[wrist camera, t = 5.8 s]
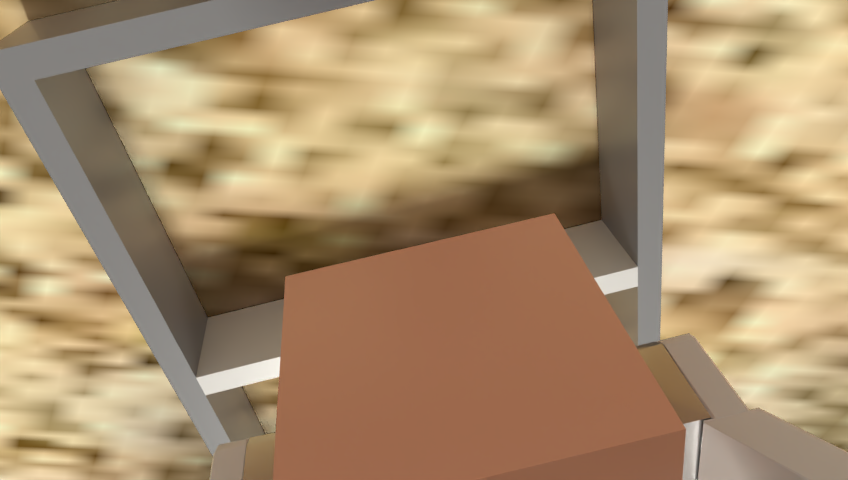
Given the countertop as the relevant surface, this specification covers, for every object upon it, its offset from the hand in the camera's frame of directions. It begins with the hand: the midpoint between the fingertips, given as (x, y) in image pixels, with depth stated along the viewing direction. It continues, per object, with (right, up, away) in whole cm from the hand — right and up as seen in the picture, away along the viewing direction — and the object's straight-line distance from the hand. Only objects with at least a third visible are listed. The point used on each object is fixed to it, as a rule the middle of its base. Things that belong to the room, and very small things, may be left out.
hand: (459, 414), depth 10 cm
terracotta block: (0, +1, +1) cm, 2 cm away
